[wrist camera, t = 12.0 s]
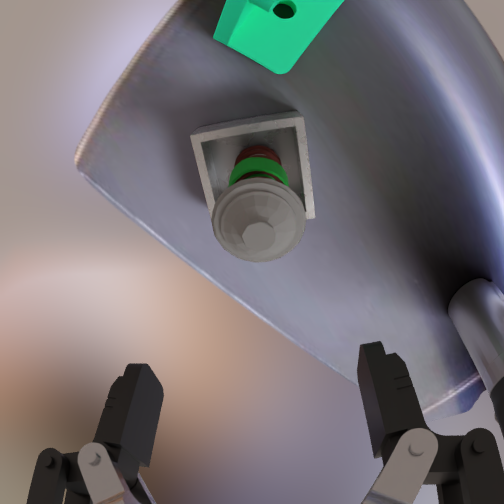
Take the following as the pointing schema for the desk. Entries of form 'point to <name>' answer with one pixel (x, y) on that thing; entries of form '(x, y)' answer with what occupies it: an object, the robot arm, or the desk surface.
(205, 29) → the desk surface
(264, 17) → the camera mount
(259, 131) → the square tray
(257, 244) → the shock absorber
